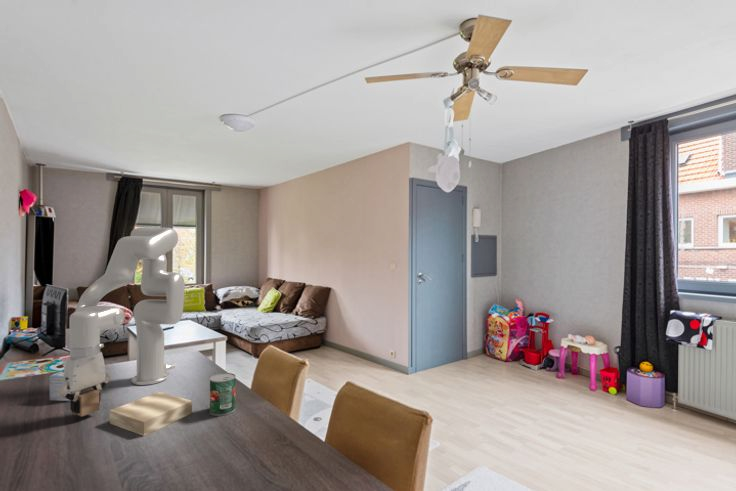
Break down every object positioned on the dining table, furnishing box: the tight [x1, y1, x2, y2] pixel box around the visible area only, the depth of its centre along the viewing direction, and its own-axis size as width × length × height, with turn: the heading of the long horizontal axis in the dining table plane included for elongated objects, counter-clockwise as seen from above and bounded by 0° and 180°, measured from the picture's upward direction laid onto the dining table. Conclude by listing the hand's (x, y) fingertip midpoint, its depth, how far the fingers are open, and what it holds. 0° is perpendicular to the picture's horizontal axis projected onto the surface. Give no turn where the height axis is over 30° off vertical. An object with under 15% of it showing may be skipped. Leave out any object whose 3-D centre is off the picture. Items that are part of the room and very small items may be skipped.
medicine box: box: [48, 371, 82, 402], centre depth 133 cm, size 8×4×9 cm, turn 84°
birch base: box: [109, 391, 193, 437], centre depth 119 cm, size 16×16×4 cm
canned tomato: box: [209, 372, 237, 417], centre depth 125 cm, size 8×8×11 cm
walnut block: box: [71, 387, 100, 417], centre depth 120 cm, size 5×5×6 cm
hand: (85, 408), depth 120 cm, fingers closed on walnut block, 4 cm apart
